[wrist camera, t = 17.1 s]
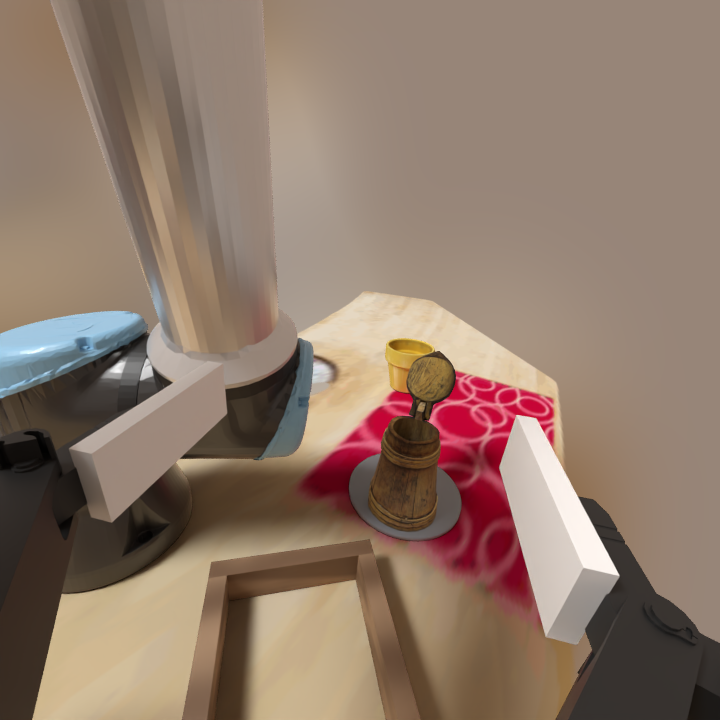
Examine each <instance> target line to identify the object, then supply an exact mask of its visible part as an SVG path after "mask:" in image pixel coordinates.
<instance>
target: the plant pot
mask: <svg viewBox="0 0 720 720" xmlns="http://www.w3.org/2000/svg"><path fill="white" fill-rule="evenodd" d="M433 352H435V349H434V347H433V346H432V345H430V344H428V343H426V342H423V341H420V340H415V339H407V338H399V339H393V340H390V341H388V342H387V344H386V353H385V358H386V360H387V361H388V367H389V376H390V385H391V387H392V388H393V389H394V390H396V391H399V392H403V393H409V391H408V389H407V384H406V380H407V376H408V373H409V369H410V368H411V366H412V364H413V362H414V361H416V360H417V359H418V358H420V357H422V356H424V355H427V354H430V353H433Z"/></svg>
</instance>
